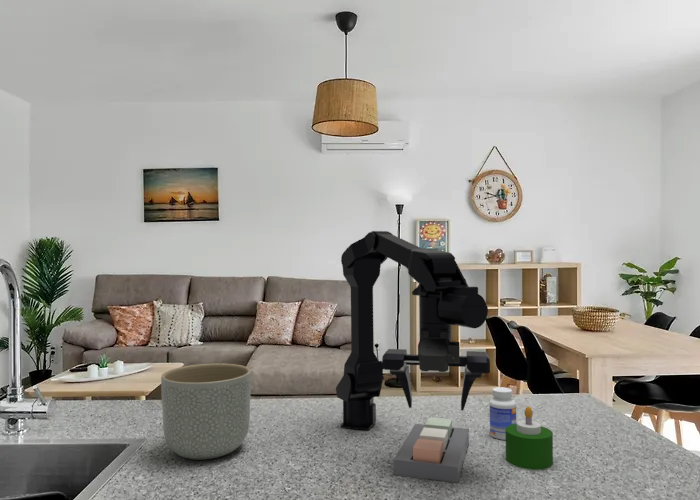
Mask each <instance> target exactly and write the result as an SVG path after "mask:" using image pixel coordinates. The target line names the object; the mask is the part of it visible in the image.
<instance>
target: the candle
mask: <svg viewBox="0 0 700 500" xmlns="http://www.w3.org/2000/svg"><path fill="white" fill-rule="evenodd" d="M533 414H534V413H533V409H532V408H531V406H527V407H525V410H524V417H525V420H524V419H523V420H518V421H516V424H512V425H509V426H507V427H506V429H505V432H506V440H505V460H506V462H507V463H509V464H510V465H512V466H515V467H518V468H521V469H524V470H525V469H527V470H532V471H533V470H537V471H538V470H546V469H549V468H551V467H552V466H553V464H554V455H553V454H554V453H553V452H554V451H553V450H554V447H553V445H554V444H553V443H554V440H553V439H554V438H553V431H552V430H551V429H549V428H548V427H545V426H542V424H541V423H539V422H537V421H534V420H533Z"/></svg>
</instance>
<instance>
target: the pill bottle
mask: <svg viewBox="0 0 700 500" xmlns="http://www.w3.org/2000/svg"><path fill="white" fill-rule="evenodd" d="M512 397H513V390H512V389H511V388H510V387H502V386H498V387H497V386H496V387H494V388H492V397H491V398H490V400H489V405H488V406H489V434H490V436H491V437H492V438H495V439H497V440H502V441H504V440H505V441H506V432H505V429H506V427H507V426H509V425H512V424H517V402H516V400H514V399H512Z"/></svg>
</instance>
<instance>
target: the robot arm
mask: <svg viewBox="0 0 700 500" xmlns="http://www.w3.org/2000/svg"><path fill="white" fill-rule="evenodd" d="M388 259H390V260H392V261H394V262H395V263H397V264H399V265H401V266H403V267H404V268H406V269H407V273H408V276H410V278H412V279H413V280H414V281H415V282H416V283H418V285H417V287H415V288H414V289H413V290H412V292H411V293H412V296H418V300H419V301H418V308H419V309H418V313H419V314H418V317H419V318H418V319H419V320H418V321H419V322H418V324H419V325H418V326H419V331H418V332H419V335H418V336H419V338H418V339H419V341H418V344H417V354H409V353H408V350H407V349H399V348H388V349H387V350H386V351H385V353H384V354H383V355H382V358H381V359H382V360H379V359H378V357H377V355H376V353H375V351H374V349H375V348H374V347H375V343H374V340H375V339H374V335H375V333H374V286H375V284H376V282H377V281H378V278H379V277H380V274H381V266H382V264H384V263H385V261H386V260H388ZM340 261H341V266H342V274H343V276H344V278H345V280H346V282H347V284H348V285H349V288H350V333H351V334H350V336H351V337H350V339H351V341H350V342H351V343H350V345H351V349H350V351H351V352H350V354H349V356H348V357H347V359H346V361H345V363H344V367H343V376H342V377H341V379H340V381H338V384H337V385H336V388H335V393H336V398H337V399H340V400H341V401H342V423H340V428H343V429H345V428H346V429H353V430H363V431H364V430H366V431H369V430H370V429H371V428H372V427H373V426H374V424H375V423H376V422H377V404H376V403H375V402H374V398H379V397H380V396H381V392H382V391H381V390H382V386H383V382H384V380H385V377H384V370H385V371H386V370H387V371H389V374H390V375H394V376H395V377H396V378H397V379H398V382H399V383H400V385H401V388H402V390H403V393H404V396H405V399H406V403H407V406H408V408H409V409H412V406H413V395H412V394H413V393H412V384H411V377H410V375H411V374H410V373H411V372H410V366H419V367H418V368H419V370H420V371H422V372H428V371H435V372H436V371H437V372H439V373H445V372H447V371H448V370H449V367H461V368H462V367H464V371H463V372H464V373H463V381H462V389H461V398H460V410H461V411H464V410H465V406H466V403H467V400H468V397H469V394H470V391H471V389H472V386H473V384H474V382H475V380H476V379H481V378H483V374H490V373H491V362H490V361H491V359H490V355H489V354H488V353H487V352H486V351H476V350H475V351H471V350H470V351H466V355H460V353H461V350H460V347H461V345H460V342H459V341H452V340H453V339H452V337H453V336H452V334H453V333H452V326H458V327H463V328H471V329H478V328H480V327H481V326H483V324H484V323H485V322H486V319H487V316H488V312H489V311H488V309H489V308H488V305H487V302H486V300H485V298H484V297H483V296H482V295H481V294H480V293H479V287H478V286H469V285H468V283H467V279H466V278H465V277H464V275H463V273H462V271H461V270H460V267H459V264H458V263H457V262H456V257H455V256H454V255H453V254H452V253H451V252H449V251H442V250H438V249H437V250H435V249H428V248H426V249H425V248H422V247H420V246H418V245H415V244H413V243H411V242H409V241H407V240H404V239H403V238H400V237H398V236H396V235H394V234H393V233H392V232H390V231H386V230H384V231H383V230H372V231H370V232H368V233H367V234H366V235H365V236H364V237H362V238H361V239H358V240H357V241H354V242H353V243H351V244H350V245H349V246H348V247H346V248H345V250H344V251H343V253H342V254H341V259H340Z"/></svg>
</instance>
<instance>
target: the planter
mask: <svg viewBox="0 0 700 500" xmlns="http://www.w3.org/2000/svg"><path fill="white" fill-rule="evenodd" d="M251 372H252V371H251V368H249V367H248V366H246V365H241V364H235V363H223V362H222V363H217V362H216V363H201V364H200V363H199V364H191V365H186V366H185V365H184V366H179V367H176V368H172V369H170V370H167V371H165V372H163V373H162V374H161V377H160V378H161V379H160V380H161V381H160V382H161V383H160V385H161V387H160V388H161V406H162V407H161V408H162V428H163V429H162V430H163V436H164V441H165V443H166V444H167V446H168V448H169V449H170V450H171V451H172V452H173V453H175V454H176V455H178V456H179V457H181V458H184V459H187V460H188V459H189V460H197V461H198V460H199V461H201V460H212V459H216V458H220V457H224V456H227V455H229V454H230V453H231V454H232V452H234V451H235V450H237V449H238V448H239V447H240V446H241V444H242V443H243V442H244V441H245V439H246V438H247V435H248V433H249V427H250V417H251V415H250V414H251V413H250V412H251V389H252V388H251V386H252V381H251V380H252V375H251V374H252V373H251Z"/></svg>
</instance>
